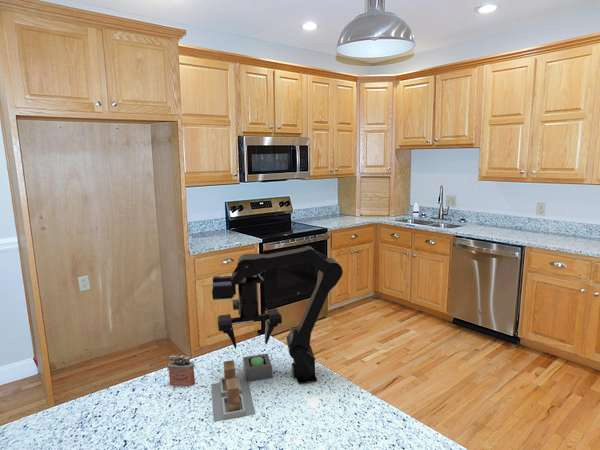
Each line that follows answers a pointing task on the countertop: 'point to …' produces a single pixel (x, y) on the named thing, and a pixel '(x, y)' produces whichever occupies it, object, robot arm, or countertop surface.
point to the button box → (257, 368)
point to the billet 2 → (232, 394)
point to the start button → (257, 361)
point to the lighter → (181, 371)
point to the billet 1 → (229, 370)
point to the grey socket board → (221, 401)
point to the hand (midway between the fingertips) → (250, 346)
